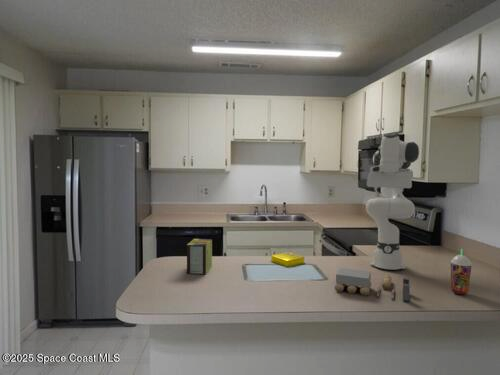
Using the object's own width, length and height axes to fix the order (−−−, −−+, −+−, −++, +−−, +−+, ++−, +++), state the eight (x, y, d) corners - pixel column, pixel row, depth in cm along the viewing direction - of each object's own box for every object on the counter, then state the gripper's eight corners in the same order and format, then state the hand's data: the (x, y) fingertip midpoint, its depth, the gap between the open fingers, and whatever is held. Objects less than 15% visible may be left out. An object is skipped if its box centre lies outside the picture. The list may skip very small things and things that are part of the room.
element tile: (269, 262, 210) (269, 254, 210) (288, 258, 219) (288, 250, 219) (287, 268, 198) (287, 259, 198) (305, 264, 208) (306, 255, 207)
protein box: (212, 266, 199) (212, 239, 198) (205, 274, 183) (206, 245, 182) (193, 265, 200) (193, 238, 199) (186, 273, 184) (186, 244, 183)
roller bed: (339, 283, 172) (339, 275, 172) (394, 291, 162) (394, 283, 162) (334, 291, 161) (334, 283, 161) (393, 300, 151) (393, 291, 151)
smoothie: (459, 296, 157) (462, 251, 156) (444, 289, 165) (446, 247, 164) (474, 294, 159) (477, 250, 158) (459, 288, 167) (461, 246, 166)
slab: (340, 275, 172) (340, 267, 171) (370, 279, 166) (370, 271, 166) (335, 282, 161) (336, 274, 160) (368, 287, 155) (368, 278, 155)
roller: (383, 281, 176) (383, 274, 176) (391, 282, 175) (391, 275, 174) (381, 289, 165) (382, 281, 165) (390, 290, 164) (390, 282, 163)
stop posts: (402, 292, 160) (403, 277, 160) (408, 293, 159) (409, 278, 159) (402, 301, 150) (403, 285, 150) (409, 302, 149) (409, 286, 149)
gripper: (413, 168, 169) (411, 197, 170) (368, 168, 177) (367, 195, 178) (413, 168, 163) (412, 198, 164) (366, 168, 171) (365, 196, 172)
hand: (388, 197), depth 171 cm, fingers open, 8 cm apart
